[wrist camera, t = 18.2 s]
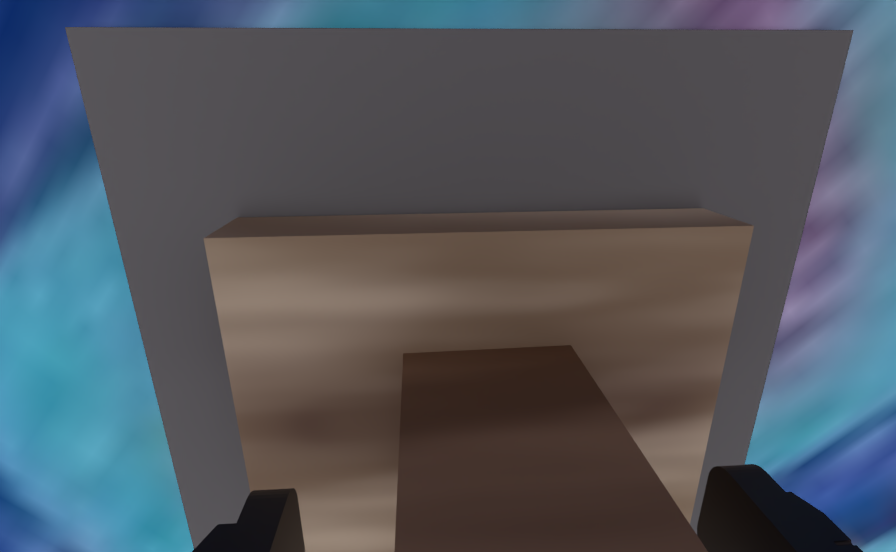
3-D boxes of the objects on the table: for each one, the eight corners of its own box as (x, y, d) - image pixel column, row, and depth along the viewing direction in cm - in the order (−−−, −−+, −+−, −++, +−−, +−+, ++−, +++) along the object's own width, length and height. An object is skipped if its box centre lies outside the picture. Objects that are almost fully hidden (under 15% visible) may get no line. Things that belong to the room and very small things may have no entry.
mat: (83, 31, 11) (65, 27, 10) (832, 34, 12) (853, 30, 11) (217, 597, 17) (210, 614, 16) (705, 563, 18) (715, 578, 17)
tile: (203, 238, 10) (276, 634, 14) (753, 225, 11) (672, 605, 15) (238, 217, 12) (293, 570, 16) (701, 207, 13) (642, 547, 17)
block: (403, 353, 11) (392, 608, 5) (570, 344, 11) (727, 581, 6) (410, 488, 12) (407, 805, 7) (560, 478, 13) (678, 776, 7)
